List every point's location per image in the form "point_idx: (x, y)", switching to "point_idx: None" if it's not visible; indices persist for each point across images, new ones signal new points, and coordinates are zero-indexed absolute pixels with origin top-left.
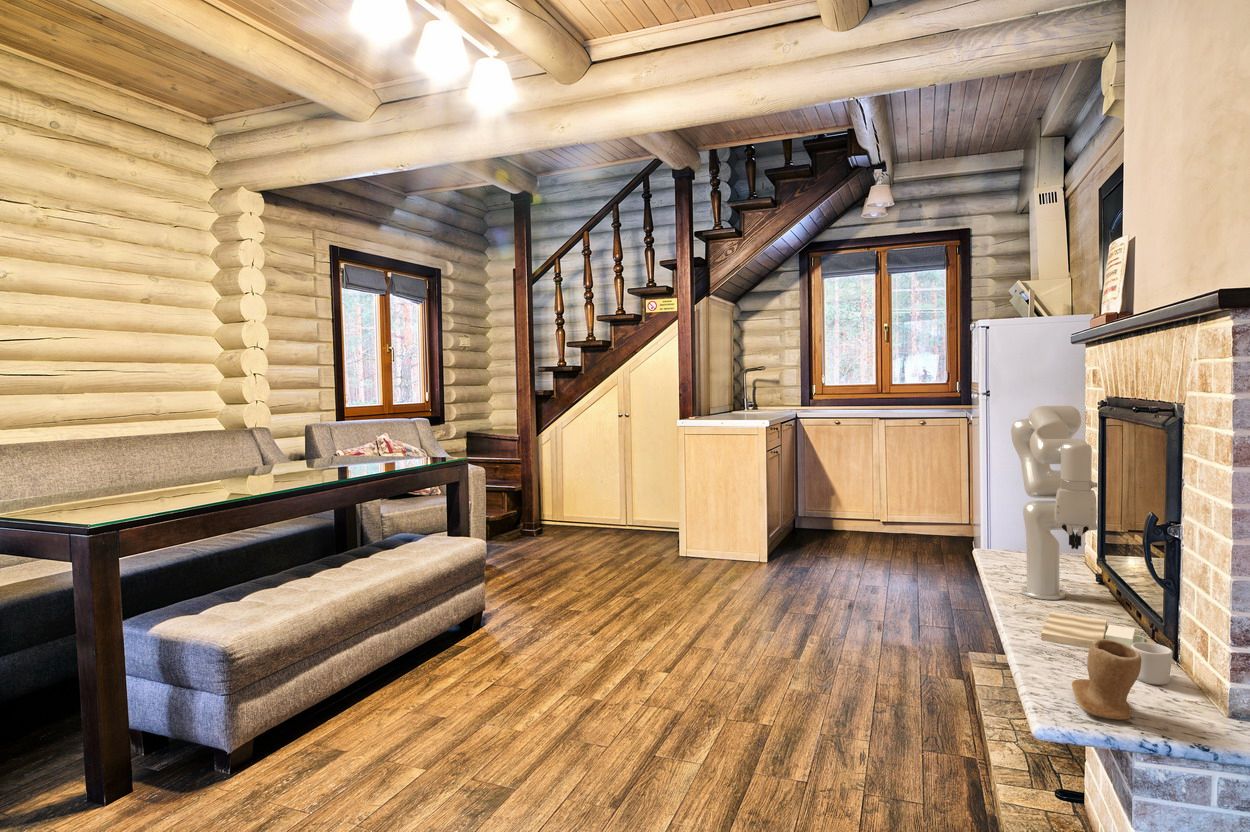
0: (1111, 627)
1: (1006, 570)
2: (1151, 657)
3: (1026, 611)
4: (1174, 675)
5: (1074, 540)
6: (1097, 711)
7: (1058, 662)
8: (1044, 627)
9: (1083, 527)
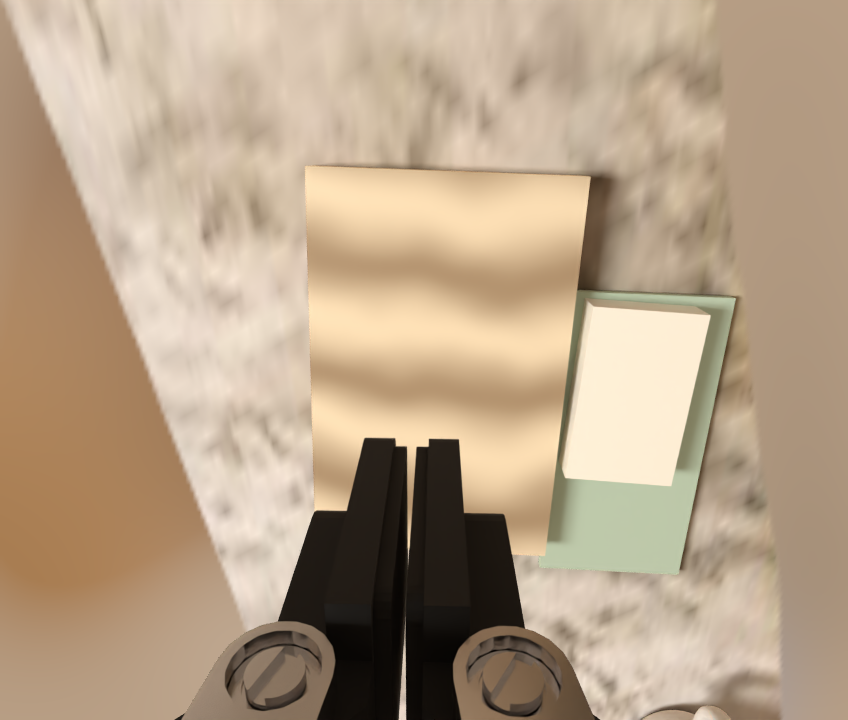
0: (601, 350)
1: None
2: None
3: (176, 95)
4: (748, 667)
5: (400, 675)
6: None
7: (403, 709)
8: (316, 466)
9: None
